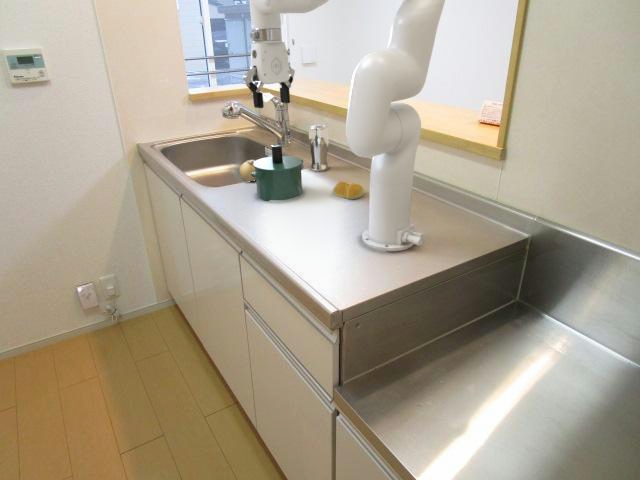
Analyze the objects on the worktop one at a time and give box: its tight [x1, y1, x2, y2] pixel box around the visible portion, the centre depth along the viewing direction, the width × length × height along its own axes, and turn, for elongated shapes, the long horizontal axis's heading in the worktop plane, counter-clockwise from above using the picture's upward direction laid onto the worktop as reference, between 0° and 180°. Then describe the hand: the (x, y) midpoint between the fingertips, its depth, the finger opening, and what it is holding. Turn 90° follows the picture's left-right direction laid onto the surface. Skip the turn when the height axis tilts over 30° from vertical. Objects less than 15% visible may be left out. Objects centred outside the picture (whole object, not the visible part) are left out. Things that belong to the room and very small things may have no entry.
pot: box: [251, 159, 304, 202], centre depth 136 cm, size 14×19×10 cm
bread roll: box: [332, 181, 364, 200], centre depth 135 cm, size 8×9×4 cm
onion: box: [238, 159, 256, 182], centre depth 150 cm, size 8×8×7 cm
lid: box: [253, 144, 303, 171], centre depth 133 cm, size 15×15×6 cm
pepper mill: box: [308, 124, 330, 172], centre depth 158 cm, size 7×7×15 cm
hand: (272, 105), depth 123 cm, fingers open, 9 cm apart
